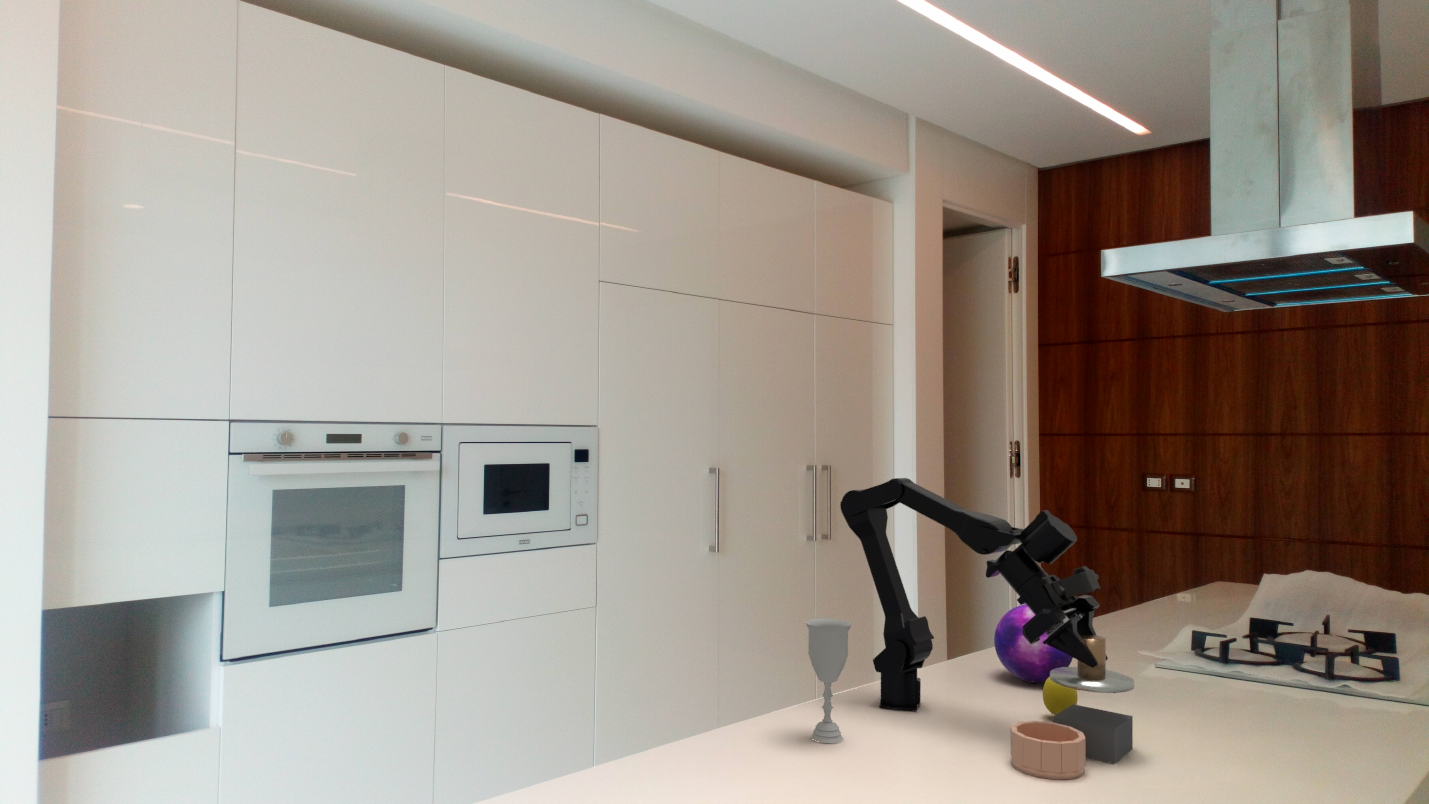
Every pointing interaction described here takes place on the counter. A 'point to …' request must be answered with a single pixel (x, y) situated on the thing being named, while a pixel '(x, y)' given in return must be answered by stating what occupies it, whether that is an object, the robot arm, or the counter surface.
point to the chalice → (828, 667)
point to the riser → (1100, 731)
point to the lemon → (1058, 696)
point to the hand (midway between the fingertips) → (1100, 663)
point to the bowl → (1047, 750)
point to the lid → (1093, 672)
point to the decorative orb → (1025, 648)
